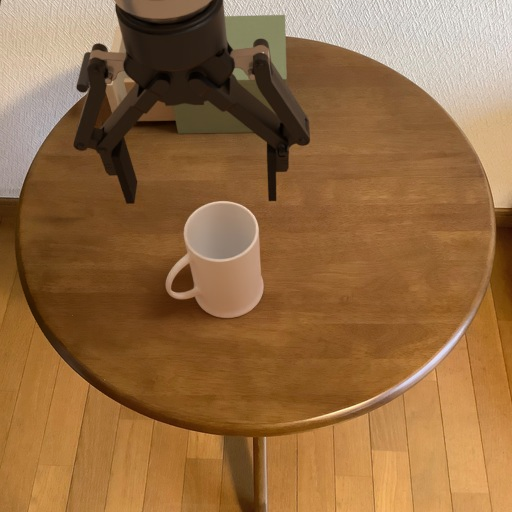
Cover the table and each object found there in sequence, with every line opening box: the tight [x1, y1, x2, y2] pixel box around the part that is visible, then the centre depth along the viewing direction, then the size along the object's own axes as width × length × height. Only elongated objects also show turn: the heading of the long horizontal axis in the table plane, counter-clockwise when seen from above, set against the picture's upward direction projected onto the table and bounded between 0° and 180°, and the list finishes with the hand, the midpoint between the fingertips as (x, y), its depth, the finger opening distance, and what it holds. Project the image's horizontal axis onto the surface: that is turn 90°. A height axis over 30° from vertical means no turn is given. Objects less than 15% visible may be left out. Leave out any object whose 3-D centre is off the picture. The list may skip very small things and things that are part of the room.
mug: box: [165, 200, 265, 319], centre depth 72 cm, size 12×8×12 cm
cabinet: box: [173, 14, 288, 135], centre depth 92 cm, size 16×14×10 cm
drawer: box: [75, 26, 176, 122], centre depth 92 cm, size 20×13×8 cm, turn 89°
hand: (202, 191), depth 61 cm, fingers open, 13 cm apart
